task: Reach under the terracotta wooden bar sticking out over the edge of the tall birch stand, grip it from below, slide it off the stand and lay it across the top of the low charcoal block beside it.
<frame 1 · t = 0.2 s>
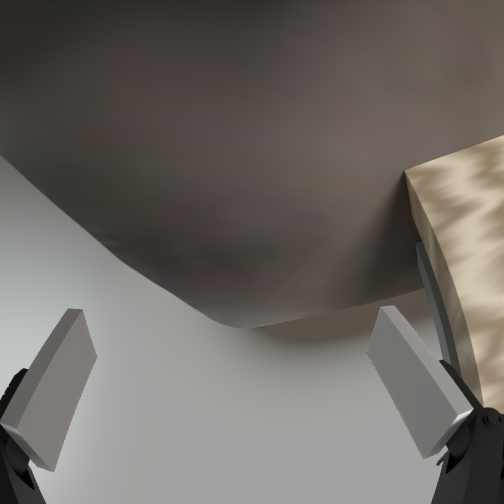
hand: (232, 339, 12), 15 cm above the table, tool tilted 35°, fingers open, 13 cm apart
tall stand: (473, 172, 24), on the table
low stand: (465, 238, 34), on the table
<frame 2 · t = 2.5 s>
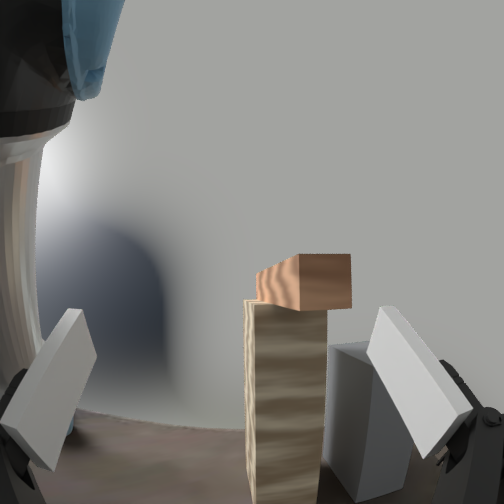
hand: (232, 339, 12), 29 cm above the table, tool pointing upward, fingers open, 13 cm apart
tall stand: (276, 486, 36), on the table
bar: (287, 302, 34), point 30 cm above the table, touching tall stand
low stand: (359, 472, 38), on the table
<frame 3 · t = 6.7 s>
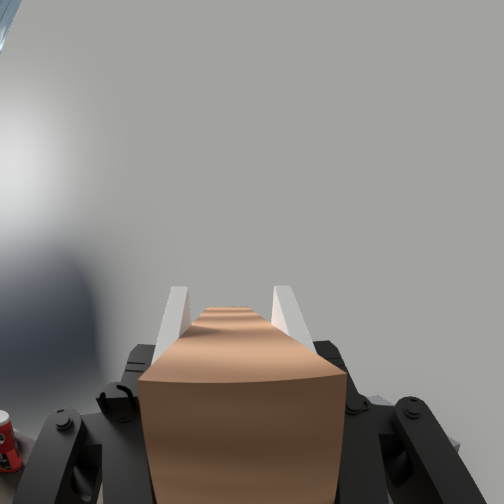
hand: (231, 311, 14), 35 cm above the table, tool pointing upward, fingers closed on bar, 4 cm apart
bar: (231, 381, 18), point 30 cm above the table, touching gripper, tall stand
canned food: (6, 464, 31), on the table
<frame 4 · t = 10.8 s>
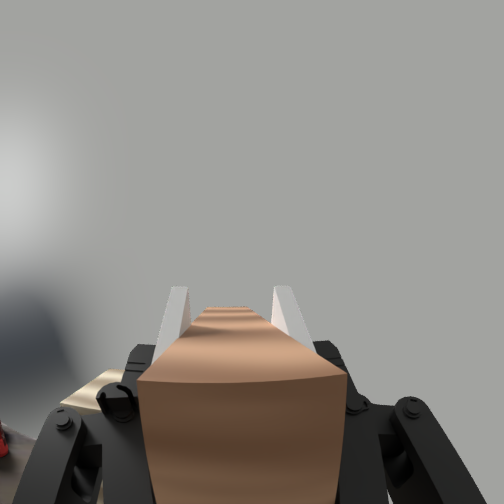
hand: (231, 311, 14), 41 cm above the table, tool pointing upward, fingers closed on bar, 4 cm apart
bar: (231, 381, 18), point 36 cm above the table, touching gripper
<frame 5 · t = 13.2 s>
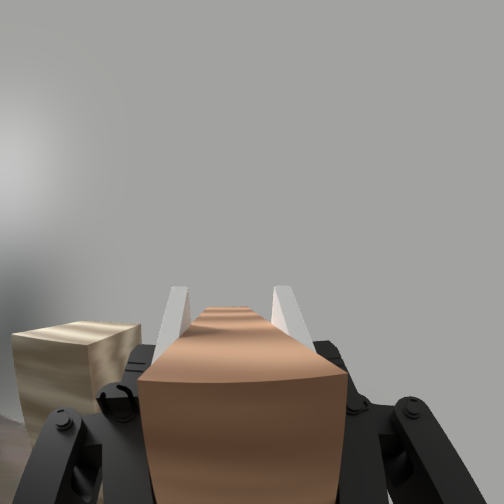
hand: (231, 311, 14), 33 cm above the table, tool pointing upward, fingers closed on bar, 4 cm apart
bar: (231, 381, 18), point 29 cm above the table, touching gripper
when the fingers open (28 cm above the table, at t = 15.1 s): bar drops 1 cm, resting on low stand.
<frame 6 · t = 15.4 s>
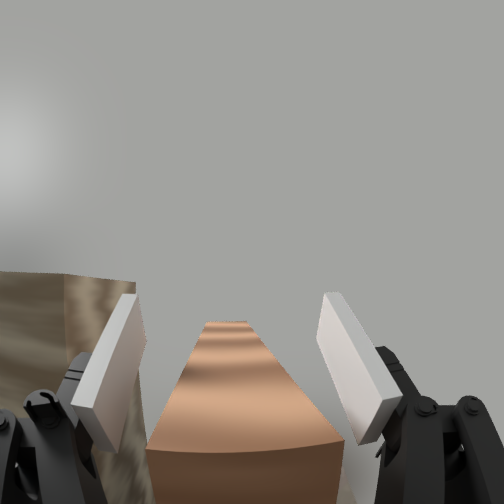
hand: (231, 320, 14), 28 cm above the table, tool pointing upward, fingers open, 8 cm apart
bar: (231, 403, 17), point 22 cm above the table, touching low stand
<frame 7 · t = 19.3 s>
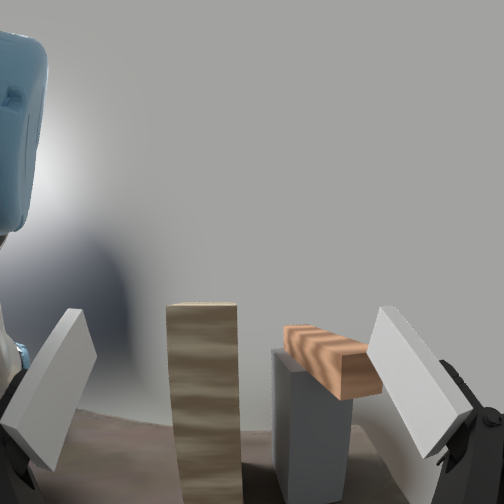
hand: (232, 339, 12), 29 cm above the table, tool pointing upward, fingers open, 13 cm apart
tall stand: (215, 484, 37), on the table
bar: (318, 365, 35), point 22 cm above the table, touching low stand
low stand: (302, 479, 38), on the table
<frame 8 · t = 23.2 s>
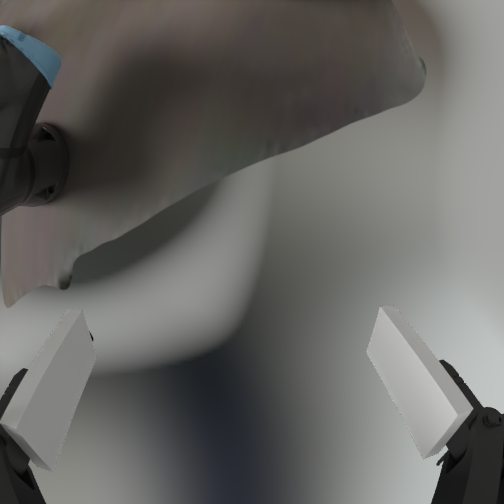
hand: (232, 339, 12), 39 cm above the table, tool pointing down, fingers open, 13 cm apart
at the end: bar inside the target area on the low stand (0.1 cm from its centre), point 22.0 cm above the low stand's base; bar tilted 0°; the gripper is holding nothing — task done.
